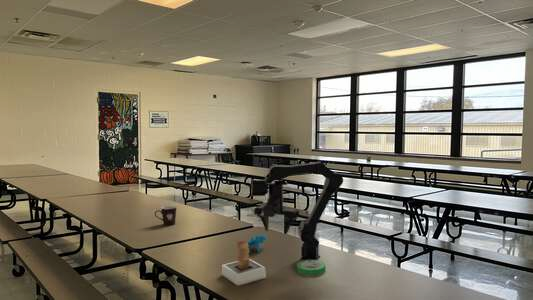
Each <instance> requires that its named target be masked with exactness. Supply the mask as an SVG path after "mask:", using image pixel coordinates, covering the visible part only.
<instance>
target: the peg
mask: <svg viewBox="0 0 533 300" xmlns="http://www.w3.org/2000/svg"><path fill="white" fill-rule="evenodd" d="M248 240H249V239H248ZM248 240H247V239H239V240H237V261H238V270H240V271H243V270H247V269H249V259H250V255H249V252H248Z"/></svg>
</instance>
